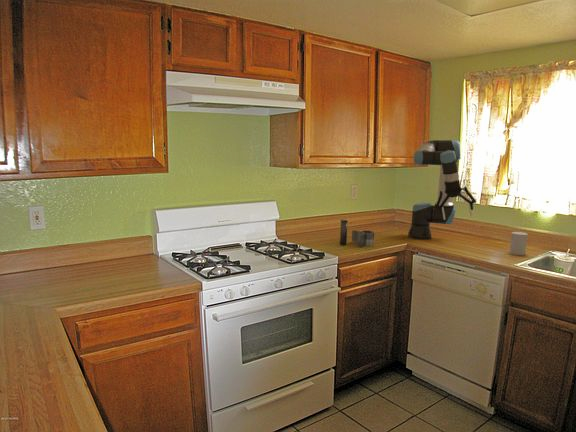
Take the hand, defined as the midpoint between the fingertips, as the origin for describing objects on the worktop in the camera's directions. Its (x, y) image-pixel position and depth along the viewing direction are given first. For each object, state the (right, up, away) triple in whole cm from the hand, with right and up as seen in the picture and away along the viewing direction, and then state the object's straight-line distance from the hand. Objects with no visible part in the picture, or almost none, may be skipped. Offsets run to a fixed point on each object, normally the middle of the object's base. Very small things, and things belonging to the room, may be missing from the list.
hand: (457, 217), depth 230 cm
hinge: (-48, -17, +28) cm, 58 cm away
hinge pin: (-59, -17, +27) cm, 67 cm away
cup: (+41, -21, +15) cm, 49 cm away
